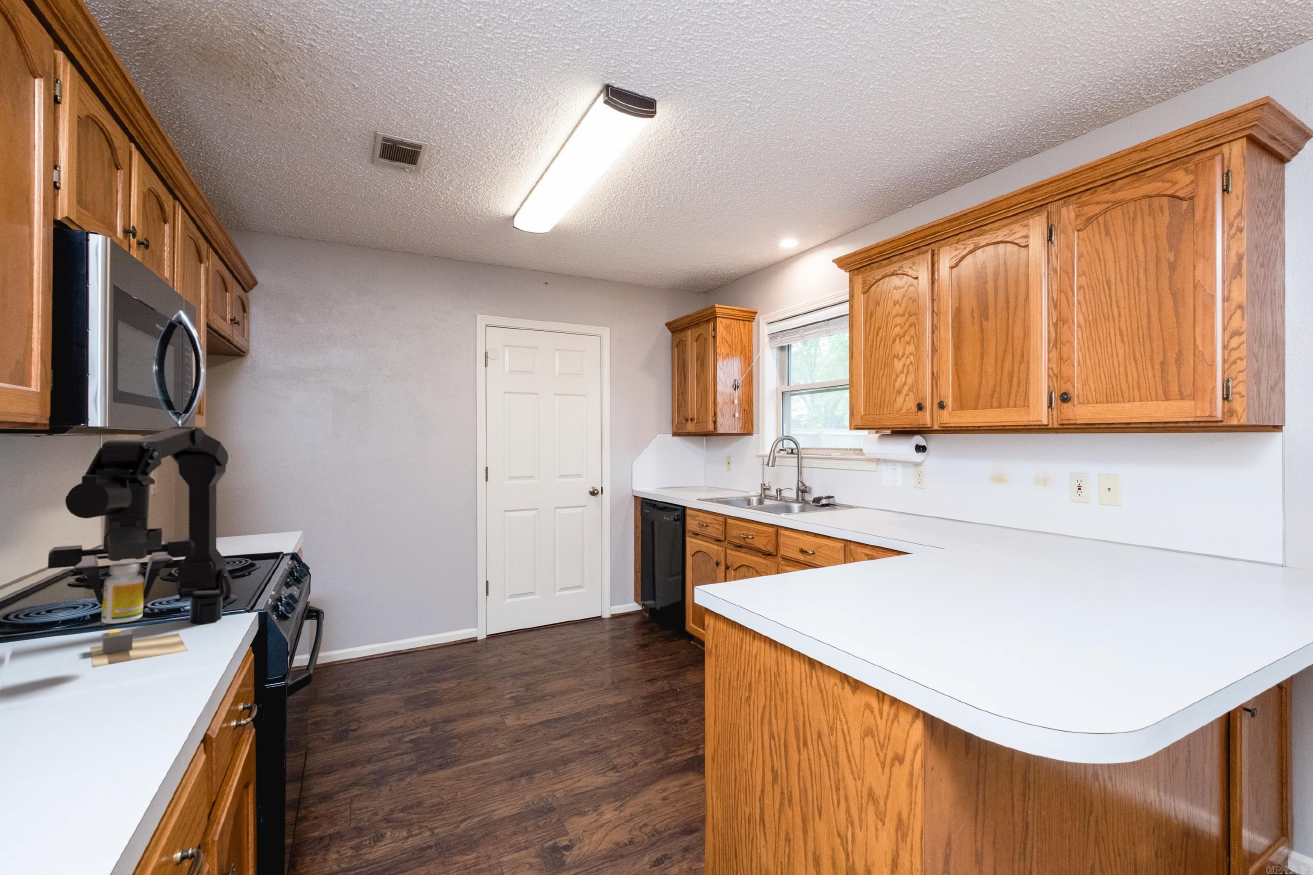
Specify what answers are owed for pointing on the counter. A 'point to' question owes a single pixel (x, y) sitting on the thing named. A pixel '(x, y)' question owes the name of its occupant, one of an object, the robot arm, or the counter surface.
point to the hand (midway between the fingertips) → (123, 601)
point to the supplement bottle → (123, 593)
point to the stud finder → (117, 641)
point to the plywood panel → (140, 650)
